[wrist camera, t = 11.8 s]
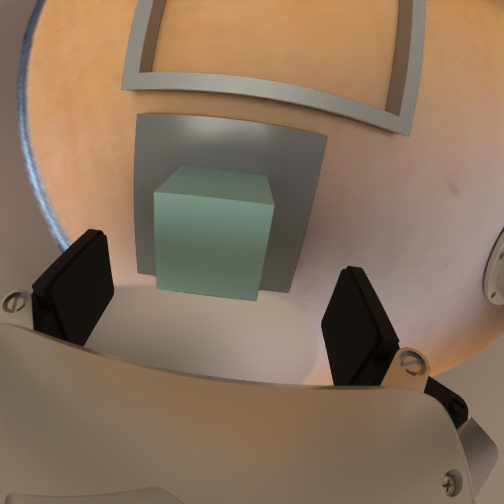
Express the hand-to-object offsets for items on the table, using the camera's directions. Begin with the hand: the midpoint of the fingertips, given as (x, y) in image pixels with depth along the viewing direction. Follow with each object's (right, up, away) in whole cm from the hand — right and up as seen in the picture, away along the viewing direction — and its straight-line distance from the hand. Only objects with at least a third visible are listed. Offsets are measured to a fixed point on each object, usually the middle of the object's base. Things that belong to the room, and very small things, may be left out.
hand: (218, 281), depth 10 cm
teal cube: (-1, +4, +6) cm, 7 cm away
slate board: (-1, +4, +7) cm, 9 cm away
